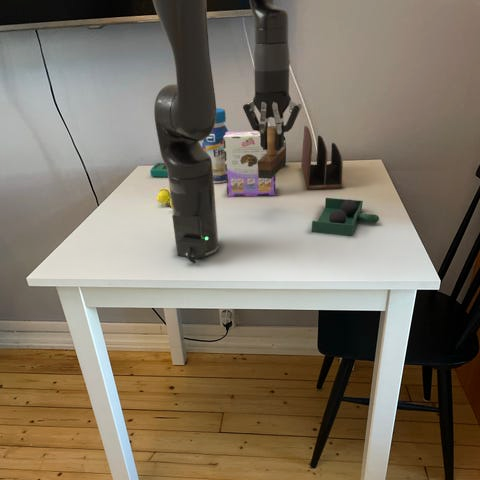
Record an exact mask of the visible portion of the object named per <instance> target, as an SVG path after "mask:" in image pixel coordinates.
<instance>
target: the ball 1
mask: <svg viewBox="0 0 480 480" xmlns="http://www.w3.org/2000/svg"><path fill="white" fill-rule="evenodd" d="M329 221H330V222H331V223H341V224H344V223H345V222H346V214H345V212H344V211H342V210H339V209H337V210H334V211H332V212H331V214H330V216H329Z"/></svg>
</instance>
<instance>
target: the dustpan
mask: <svg viewBox="0 0 480 480" xmlns="http://www.w3.org/2000/svg"><path fill="white" fill-rule="evenodd" d="M345 200H348V199H346V198H333V197H325V203H324V208H323V210H322V212H321V214H320V216H319V217H318V219H317V220H312V221H311V232H312V233H319V234H328V235H329V234H330V235H338V236H348V237H350V236H353V234H354V231H355V229H356V226H357V224H358V223H368V224H377V223H378V222H379V221H380V216H379V215H378V214H373V213H362V210H363V205H364V204H363V203H364V200H358V199H352V200H353V201H355V202H356V204H357V211H356V212H355V214H353V215H351V216H346V222H345V223H344V224H341V223H331V222H330V221H329V216H330V214H331V212H332V211H334V210H337V209H339V210H341V204H342V203H343V202H344V201H345Z"/></svg>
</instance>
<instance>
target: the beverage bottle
mask: <svg viewBox="0 0 480 480" xmlns="http://www.w3.org/2000/svg"><path fill="white" fill-rule="evenodd" d="M226 116H227V115H226V110H225V109H224V108H222V107H221V108H219V107H216V121H215V125H214V128H213V130H212V132H211V134H210V135H209V136H208V137H207V138H206V139H204V140H202V141H201V147H202V148H203V149H204V150H205V151H206V152H207V153H208V154H209V156H210V157H211V160H212V168H213V180H214V184H223V183H226V169H225V155H224V142H223V137H224V135H225V133H226V132H229V130H228V127H226V125H225V123H226V119H227V117H226Z"/></svg>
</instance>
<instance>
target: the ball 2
mask: <svg viewBox="0 0 480 480" xmlns="http://www.w3.org/2000/svg"><path fill="white" fill-rule="evenodd" d="M353 200H354V199H350V198H349V199H347V200H345V201H344V202H343V203H342V204H341V210H342V211H344V212H345V214H346V216H351V215H353V214H355V212H356V211H357V204H356V202H355V201H353Z"/></svg>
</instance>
